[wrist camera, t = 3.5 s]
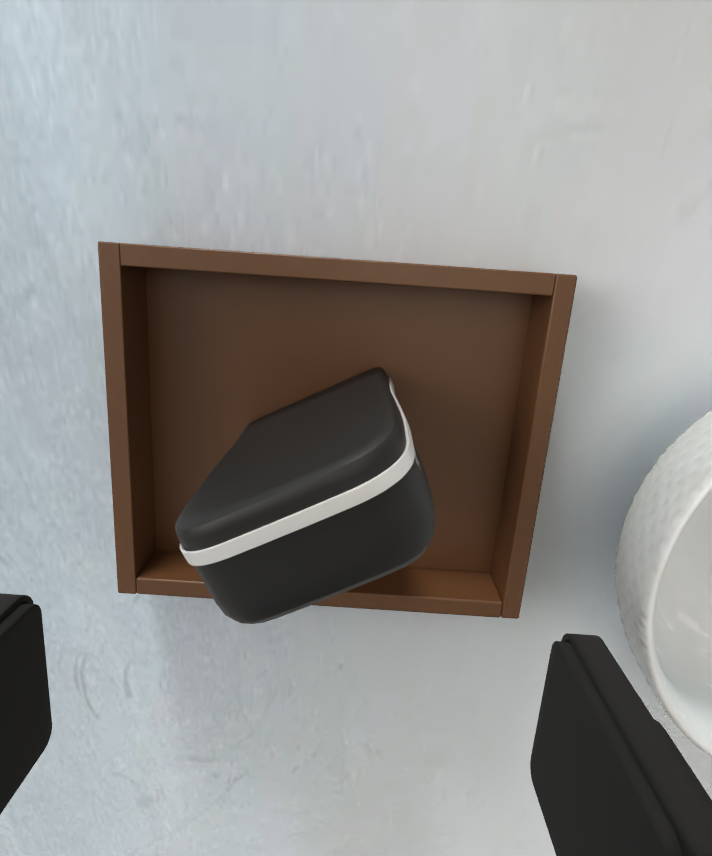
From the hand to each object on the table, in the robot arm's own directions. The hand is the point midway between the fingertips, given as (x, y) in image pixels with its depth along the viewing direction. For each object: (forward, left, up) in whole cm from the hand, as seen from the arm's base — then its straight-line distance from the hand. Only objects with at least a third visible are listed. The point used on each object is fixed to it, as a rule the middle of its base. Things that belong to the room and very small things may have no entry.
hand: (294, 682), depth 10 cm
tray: (0, 0, -16) cm, 16 cm away
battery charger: (0, 0, -15) cm, 15 cm away
